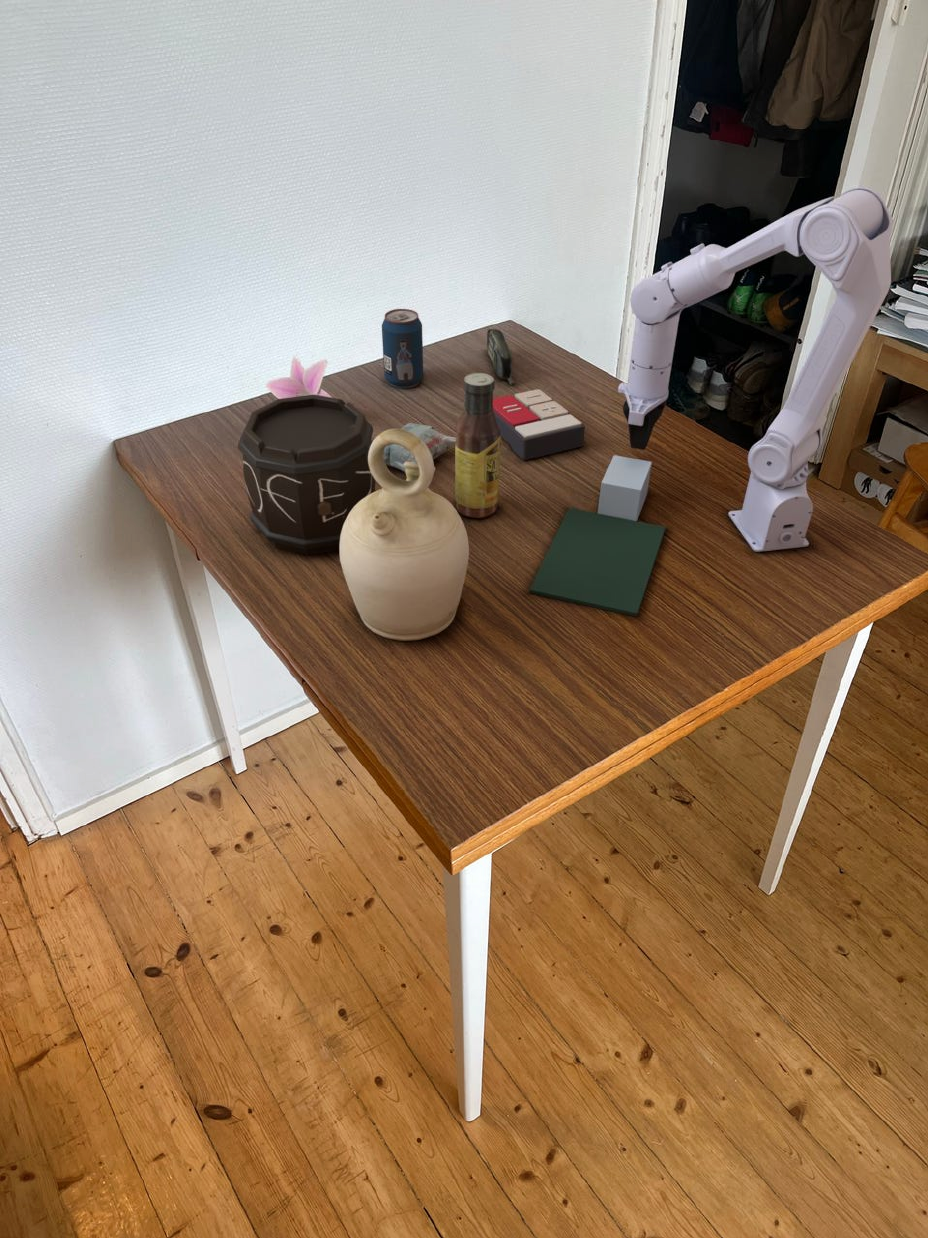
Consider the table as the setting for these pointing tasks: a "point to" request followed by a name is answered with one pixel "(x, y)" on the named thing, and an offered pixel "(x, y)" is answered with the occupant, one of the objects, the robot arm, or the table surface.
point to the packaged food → (427, 434)
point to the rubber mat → (599, 561)
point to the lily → (300, 381)
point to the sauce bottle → (477, 450)
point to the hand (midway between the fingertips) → (638, 446)
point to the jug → (404, 548)
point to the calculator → (536, 424)
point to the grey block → (624, 488)
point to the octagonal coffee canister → (306, 470)
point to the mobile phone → (500, 354)
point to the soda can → (402, 348)
